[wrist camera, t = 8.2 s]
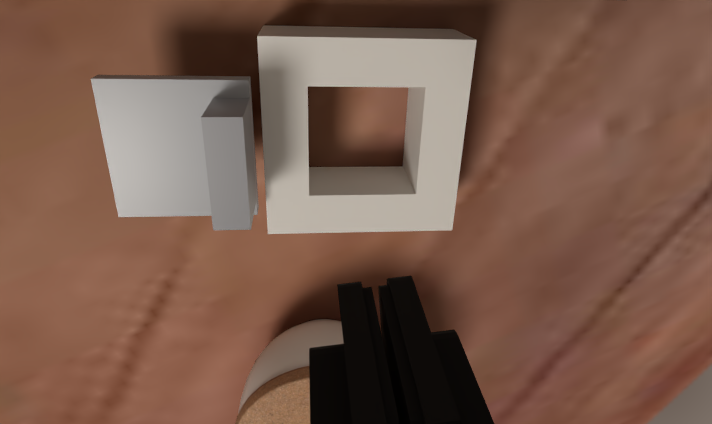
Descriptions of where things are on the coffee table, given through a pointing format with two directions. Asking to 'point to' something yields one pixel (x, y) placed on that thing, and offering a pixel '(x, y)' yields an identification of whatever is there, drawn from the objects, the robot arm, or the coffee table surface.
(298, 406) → the lidded jar
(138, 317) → the coffee table surface
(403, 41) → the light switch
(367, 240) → the coffee table surface
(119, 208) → the plate with raised block
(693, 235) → the coffee table surface
